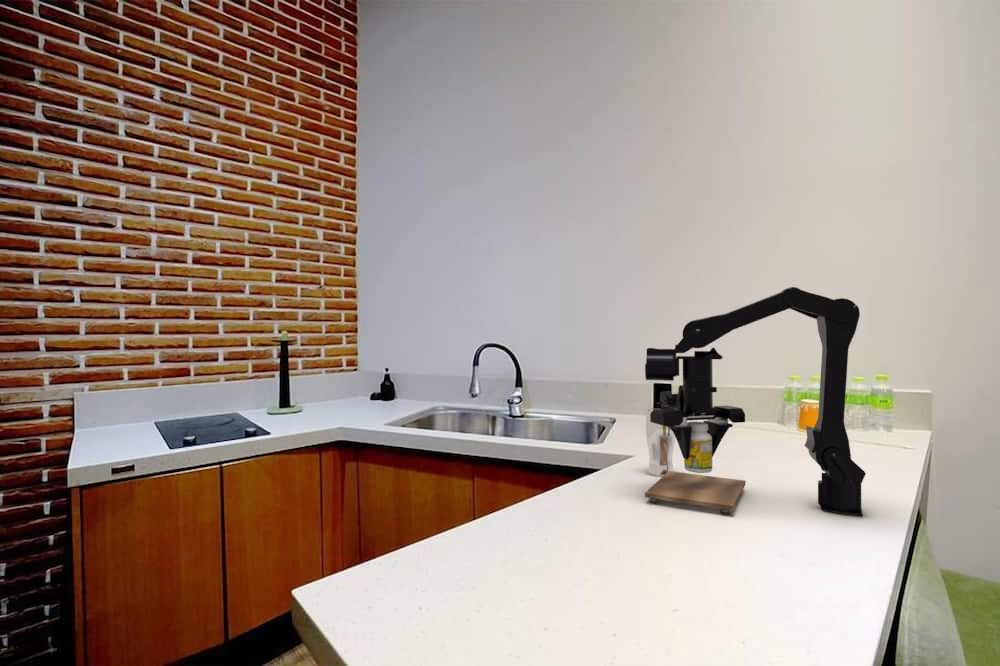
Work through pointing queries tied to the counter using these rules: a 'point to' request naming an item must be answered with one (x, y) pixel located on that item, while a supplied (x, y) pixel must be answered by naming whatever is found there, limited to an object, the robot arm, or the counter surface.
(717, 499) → the peg shelf
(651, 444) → the beer glass
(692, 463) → the supplement bottle
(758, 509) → the counter surface
